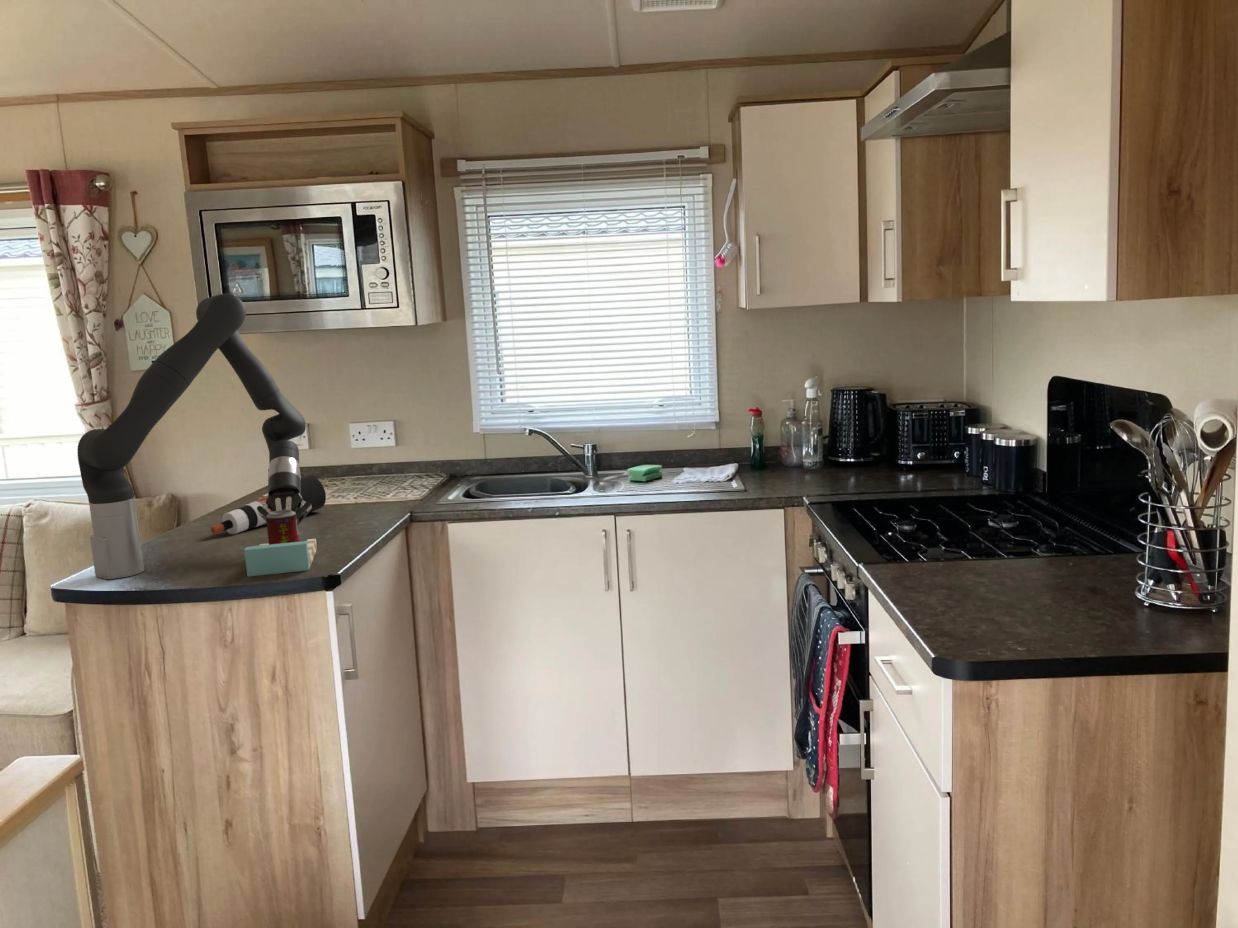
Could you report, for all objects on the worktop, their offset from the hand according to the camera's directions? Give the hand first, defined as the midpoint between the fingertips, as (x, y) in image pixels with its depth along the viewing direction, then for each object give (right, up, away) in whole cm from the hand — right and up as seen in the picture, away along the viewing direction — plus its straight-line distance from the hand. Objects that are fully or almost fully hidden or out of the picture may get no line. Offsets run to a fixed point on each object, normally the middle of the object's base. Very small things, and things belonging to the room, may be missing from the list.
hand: (285, 539), depth 233 cm
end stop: (+3, -6, -13) cm, 14 cm away
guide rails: (+1, -5, -2) cm, 5 cm away
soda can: (+1, -5, -3) cm, 6 cm away
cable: (-18, +1, +40) cm, 44 cm away
